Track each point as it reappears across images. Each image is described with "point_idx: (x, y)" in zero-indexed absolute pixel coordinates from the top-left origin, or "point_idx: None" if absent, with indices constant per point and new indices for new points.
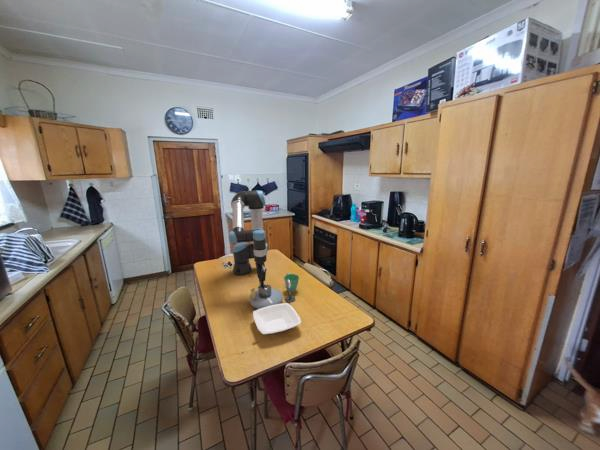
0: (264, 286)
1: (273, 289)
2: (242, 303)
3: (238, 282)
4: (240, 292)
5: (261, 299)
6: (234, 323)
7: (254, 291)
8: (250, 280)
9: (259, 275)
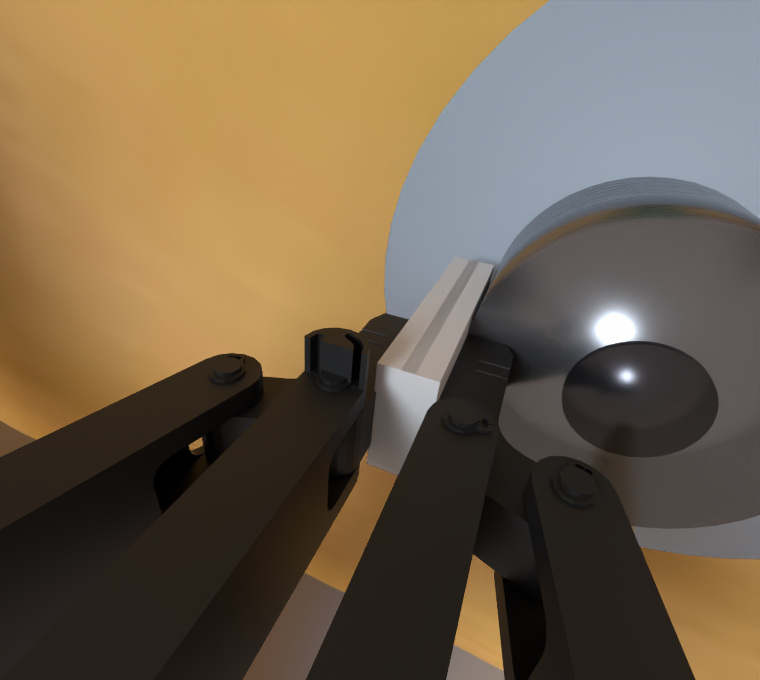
0: (589, 377)
1: (581, 19)
2: None
3: (59, 259)
4: (240, 352)
5: None
6: None
7: None
8: (34, 126)
9: (286, 591)
